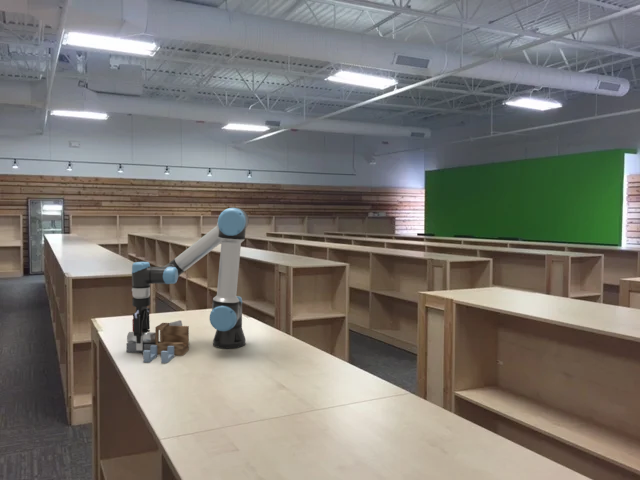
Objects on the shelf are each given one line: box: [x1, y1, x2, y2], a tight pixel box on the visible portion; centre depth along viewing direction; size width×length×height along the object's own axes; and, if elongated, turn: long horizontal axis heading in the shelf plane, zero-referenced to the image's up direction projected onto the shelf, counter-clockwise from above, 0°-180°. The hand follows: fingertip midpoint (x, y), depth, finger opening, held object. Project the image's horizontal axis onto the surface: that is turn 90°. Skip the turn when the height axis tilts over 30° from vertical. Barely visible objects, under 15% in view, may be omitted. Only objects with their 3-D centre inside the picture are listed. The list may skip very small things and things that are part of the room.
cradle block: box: [142, 345, 175, 364], centre depth 228 cm, size 10×9×5 cm
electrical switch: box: [168, 320, 183, 326], centre depth 260 cm, size 9×5×9 cm, turn 152°
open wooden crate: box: [154, 322, 190, 357], centre depth 239 cm, size 12×9×12 cm
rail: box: [125, 342, 156, 354], centre depth 240 cm, size 14×4×4 cm, turn 87°
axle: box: [126, 331, 156, 344], centre depth 240 cm, size 12×5×5 cm, turn 87°
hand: (142, 348), depth 240 cm, fingers closed on axle, 5 cm apart
